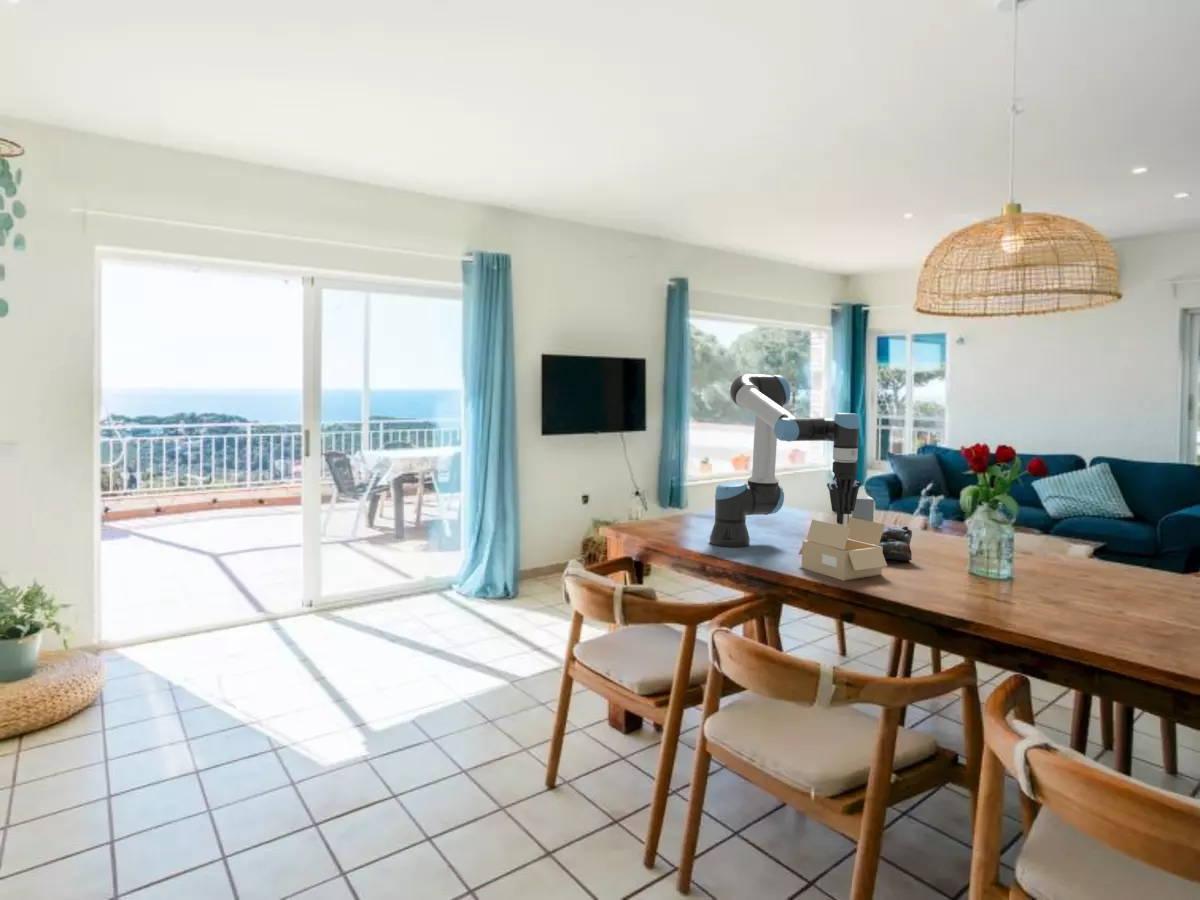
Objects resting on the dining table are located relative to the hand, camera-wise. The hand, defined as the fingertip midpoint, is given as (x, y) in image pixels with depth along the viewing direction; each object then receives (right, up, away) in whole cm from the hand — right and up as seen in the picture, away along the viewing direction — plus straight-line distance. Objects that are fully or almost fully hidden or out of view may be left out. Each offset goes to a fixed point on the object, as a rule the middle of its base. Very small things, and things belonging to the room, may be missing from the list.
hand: (842, 533), depth 228 cm
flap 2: (+8, +1, +4) cm, 9 cm away
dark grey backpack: (+23, -12, +18) cm, 31 cm away
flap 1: (-5, 0, -3) cm, 6 cm away
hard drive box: (+18, -10, +35) cm, 41 cm away
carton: (0, -12, +1) cm, 12 cm away
